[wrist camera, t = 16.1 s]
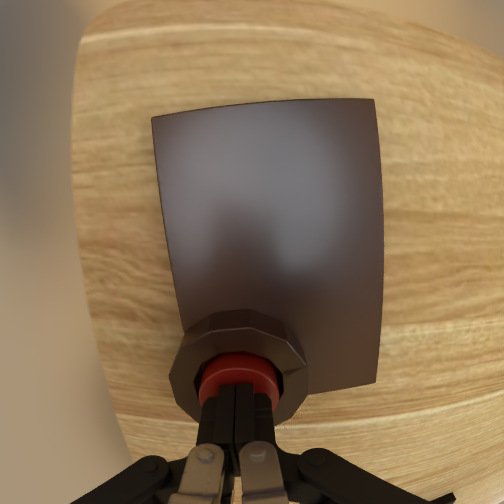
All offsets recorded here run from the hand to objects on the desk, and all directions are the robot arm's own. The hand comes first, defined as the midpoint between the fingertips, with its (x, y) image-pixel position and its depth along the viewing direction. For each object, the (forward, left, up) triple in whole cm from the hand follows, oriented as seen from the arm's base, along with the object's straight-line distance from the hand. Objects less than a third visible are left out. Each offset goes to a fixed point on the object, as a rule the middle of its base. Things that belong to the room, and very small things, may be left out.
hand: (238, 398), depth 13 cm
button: (0, 0, -2) cm, 2 cm away
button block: (+2, +5, -3) cm, 6 cm away
